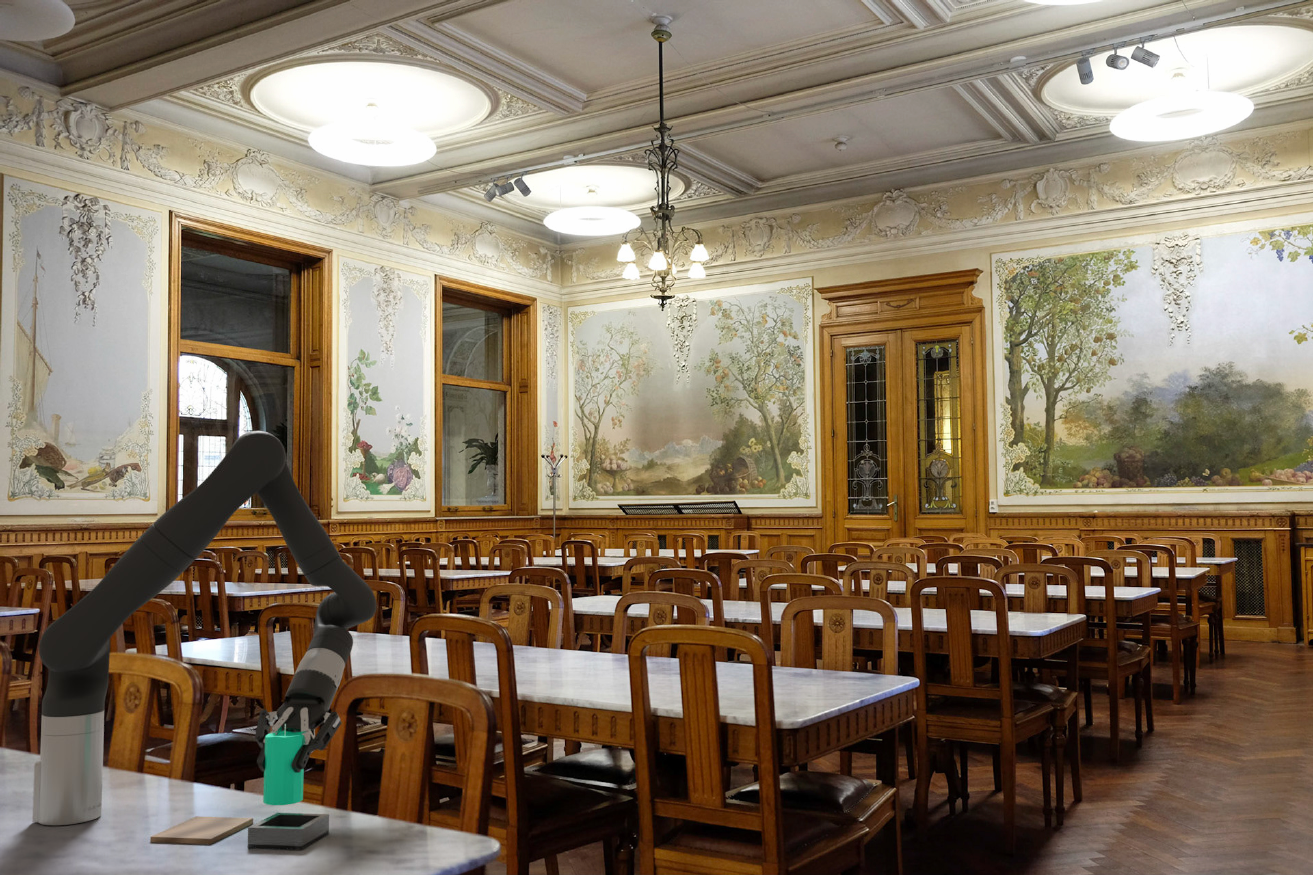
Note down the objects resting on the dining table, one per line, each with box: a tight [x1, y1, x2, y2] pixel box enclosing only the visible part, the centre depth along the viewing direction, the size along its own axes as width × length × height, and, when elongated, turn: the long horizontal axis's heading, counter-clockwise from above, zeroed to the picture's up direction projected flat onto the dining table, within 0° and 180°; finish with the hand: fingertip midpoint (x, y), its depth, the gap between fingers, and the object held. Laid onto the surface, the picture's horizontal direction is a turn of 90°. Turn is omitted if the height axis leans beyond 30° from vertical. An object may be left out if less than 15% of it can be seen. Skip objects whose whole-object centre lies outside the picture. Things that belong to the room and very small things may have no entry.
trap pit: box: [247, 812, 330, 851], centre depth 166 cm, size 9×9×3 cm
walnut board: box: [149, 815, 254, 845], centre depth 172 cm, size 10×12×1 cm
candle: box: [262, 724, 305, 806], centre depth 176 cm, size 6×6×12 cm
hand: (278, 768), depth 174 cm, fingers closed on candle, 5 cm apart
